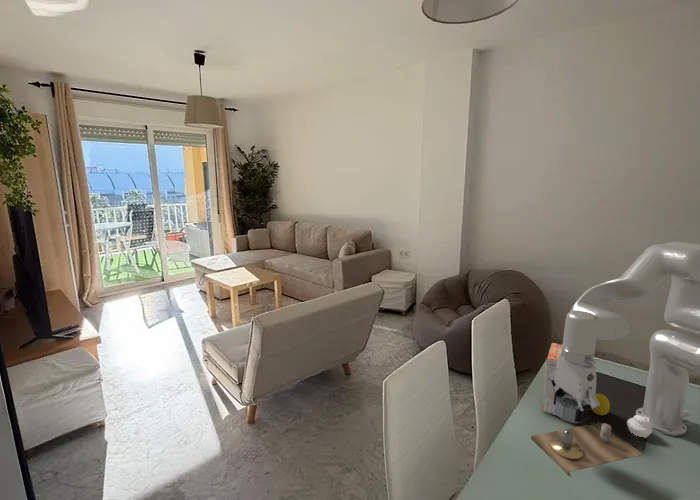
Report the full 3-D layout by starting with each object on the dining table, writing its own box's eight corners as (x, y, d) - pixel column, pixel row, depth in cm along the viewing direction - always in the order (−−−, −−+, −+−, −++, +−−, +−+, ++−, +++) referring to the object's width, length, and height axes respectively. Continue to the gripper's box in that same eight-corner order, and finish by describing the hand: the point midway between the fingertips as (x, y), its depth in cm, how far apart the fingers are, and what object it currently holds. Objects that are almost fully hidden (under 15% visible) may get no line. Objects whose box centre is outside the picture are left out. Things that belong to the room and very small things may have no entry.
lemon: (611, 421, 116) (614, 399, 115) (592, 419, 117) (595, 398, 116) (603, 410, 122) (606, 390, 120) (585, 409, 123) (588, 388, 121)
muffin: (656, 443, 106) (659, 423, 105) (635, 443, 107) (638, 422, 105) (640, 429, 112) (643, 410, 111) (620, 428, 113) (623, 409, 111)
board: (599, 424, 115) (601, 408, 114) (643, 457, 101) (646, 438, 100) (531, 438, 109) (532, 421, 108) (567, 474, 96) (570, 455, 94)
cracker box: (546, 393, 132) (551, 341, 128) (564, 398, 129) (571, 345, 124) (540, 413, 121) (546, 357, 117) (560, 419, 117) (567, 362, 113)
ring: (568, 405, 105) (570, 393, 104) (589, 420, 98) (591, 408, 98) (549, 408, 104) (550, 396, 103) (568, 424, 97) (570, 411, 96)
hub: (566, 436, 108) (568, 419, 107) (590, 457, 100) (592, 438, 99) (543, 441, 107) (544, 423, 105) (565, 462, 99) (567, 443, 97)
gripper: (617, 370, 90) (607, 431, 93) (563, 340, 107) (556, 393, 110) (594, 373, 88) (584, 435, 92) (542, 343, 105) (535, 396, 108)
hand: (569, 412), depth 101 cm, fingers closed on ring, 7 cm apart
